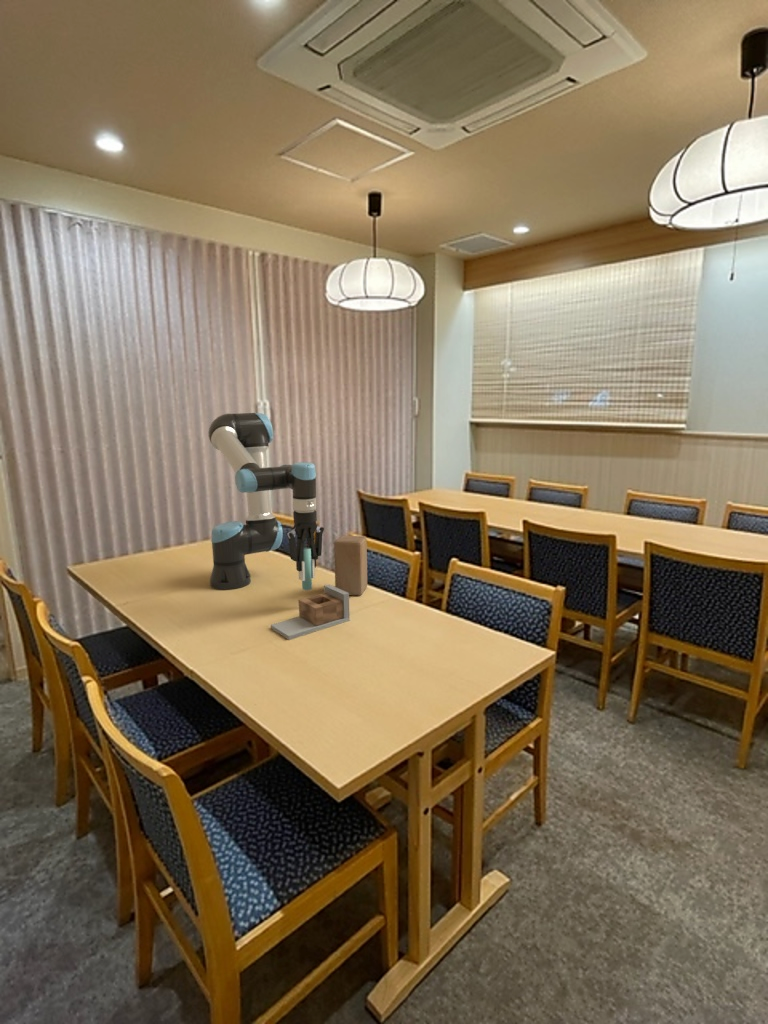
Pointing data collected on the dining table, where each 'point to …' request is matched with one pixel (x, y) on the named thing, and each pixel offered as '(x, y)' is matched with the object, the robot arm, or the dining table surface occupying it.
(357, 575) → the block
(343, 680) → the dining table surface
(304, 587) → the teal dowel
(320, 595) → the walnut block
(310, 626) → the grey l-shaped bracket
